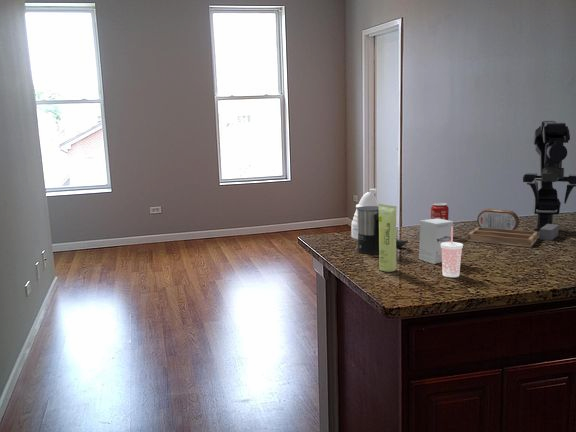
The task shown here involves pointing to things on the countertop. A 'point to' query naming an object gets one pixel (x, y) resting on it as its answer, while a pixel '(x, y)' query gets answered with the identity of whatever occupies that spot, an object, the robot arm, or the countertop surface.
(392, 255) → the tube
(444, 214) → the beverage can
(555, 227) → the bar
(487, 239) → the divided wooden tray
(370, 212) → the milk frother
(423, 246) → the supplement box
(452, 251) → the beverage cup
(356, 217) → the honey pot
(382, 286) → the countertop surface
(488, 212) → the tin
